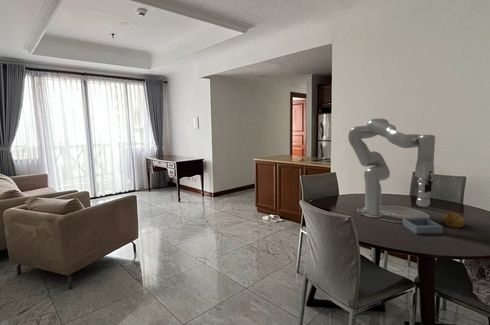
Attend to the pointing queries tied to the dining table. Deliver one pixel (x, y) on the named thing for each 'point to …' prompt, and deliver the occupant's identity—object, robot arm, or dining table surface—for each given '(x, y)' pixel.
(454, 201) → the dining table surface
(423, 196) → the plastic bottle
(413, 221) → the tray
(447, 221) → the bread roll
